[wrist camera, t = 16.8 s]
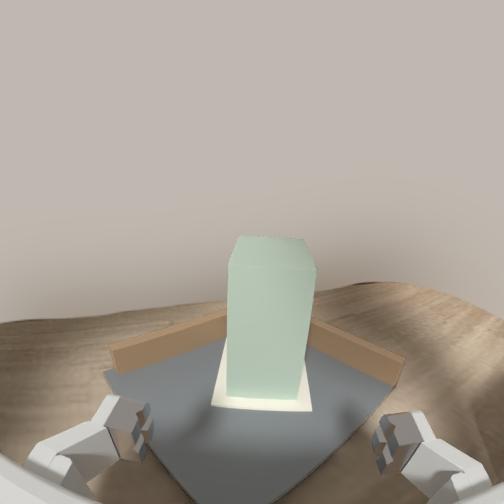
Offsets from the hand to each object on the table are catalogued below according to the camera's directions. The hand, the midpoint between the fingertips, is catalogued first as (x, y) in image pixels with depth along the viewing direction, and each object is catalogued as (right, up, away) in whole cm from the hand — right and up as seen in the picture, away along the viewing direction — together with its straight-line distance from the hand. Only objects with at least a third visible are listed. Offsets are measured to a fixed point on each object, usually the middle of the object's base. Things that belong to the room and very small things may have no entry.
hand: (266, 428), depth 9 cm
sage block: (0, -3, +14) cm, 15 cm away
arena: (0, -5, +12) cm, 13 cm away
